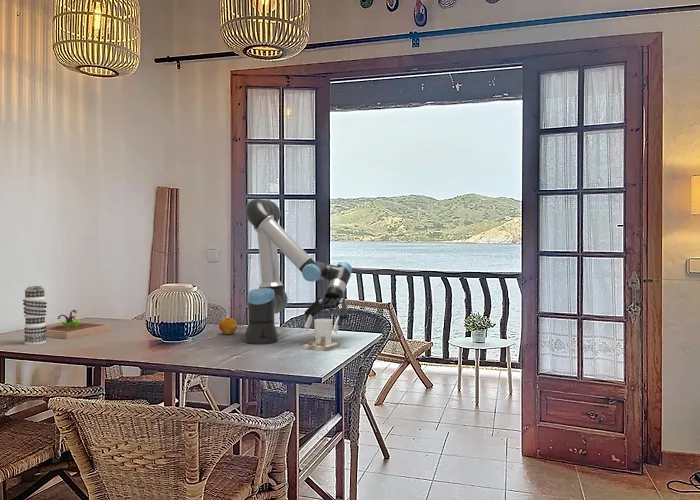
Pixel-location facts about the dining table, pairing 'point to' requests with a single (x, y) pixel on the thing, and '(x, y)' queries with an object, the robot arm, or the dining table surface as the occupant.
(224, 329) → the fruit
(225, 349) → the dining table surface
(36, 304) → the decorative candle
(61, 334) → the planter tray
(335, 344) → the board
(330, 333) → the white cup
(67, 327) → the plant
